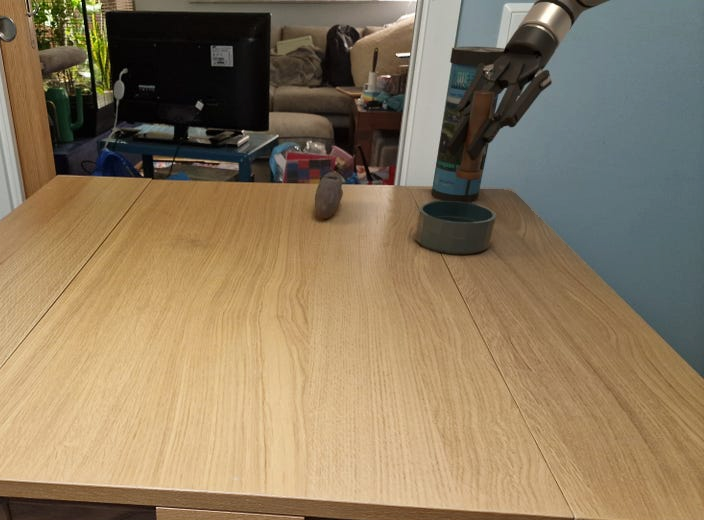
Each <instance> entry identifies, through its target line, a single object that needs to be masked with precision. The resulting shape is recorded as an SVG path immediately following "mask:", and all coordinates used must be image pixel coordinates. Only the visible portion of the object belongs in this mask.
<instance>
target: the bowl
mask: <svg viewBox="0 0 704 520" xmlns="http://www.w3.org/2000/svg"><path fill="white" fill-rule="evenodd" d="M496 219H497V214H496V212H495V211H493V209H490V208H489V207H487V206H483V205H481V204H477V203H473V202H461V201H443V200H434V201H427V202H425V203H423V204H421V205H420V206H419V207H418V214H417V219H416V226H415V233H414V239H415V240H416V242H418V243H419V245H421V246H422V247H424V248H426V249H428V250H431V251H434V252H436V253H442V254H446V255H447V254H448V255H459V256H461V255H463V256H464V255H465V256H466V255H474V254H479V253H481V252H483V251H484V250H486V249H488V248H489V247H490V245H491V241H492V237H493V233H494V228H495V224H496Z"/></svg>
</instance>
